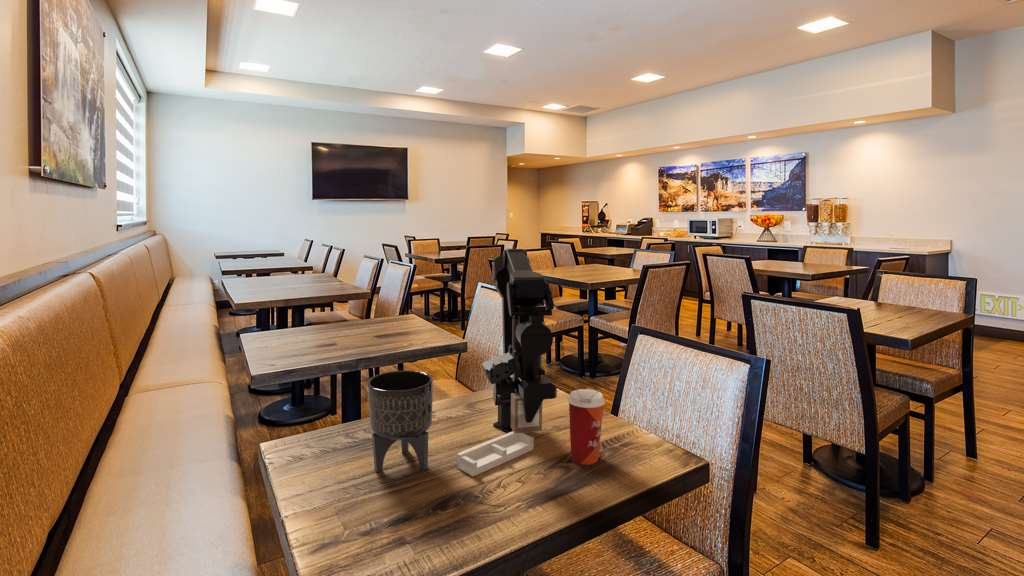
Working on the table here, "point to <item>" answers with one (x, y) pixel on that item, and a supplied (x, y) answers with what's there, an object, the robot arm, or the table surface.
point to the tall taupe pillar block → (523, 417)
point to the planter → (400, 413)
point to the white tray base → (494, 452)
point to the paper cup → (585, 425)
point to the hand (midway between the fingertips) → (526, 418)
